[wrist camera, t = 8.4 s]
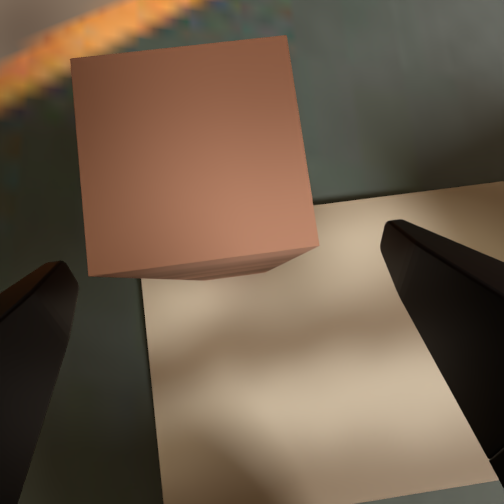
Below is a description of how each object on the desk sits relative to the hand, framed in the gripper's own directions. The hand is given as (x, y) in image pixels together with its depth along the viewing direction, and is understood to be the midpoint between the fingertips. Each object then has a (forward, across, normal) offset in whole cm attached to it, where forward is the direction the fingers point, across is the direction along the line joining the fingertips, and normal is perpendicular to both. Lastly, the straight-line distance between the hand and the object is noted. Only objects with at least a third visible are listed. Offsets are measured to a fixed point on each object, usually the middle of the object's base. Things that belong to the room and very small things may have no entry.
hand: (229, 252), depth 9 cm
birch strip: (+2, -10, +8) cm, 13 cm away
